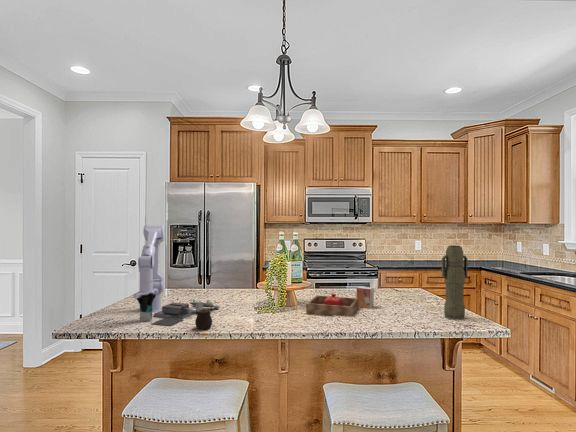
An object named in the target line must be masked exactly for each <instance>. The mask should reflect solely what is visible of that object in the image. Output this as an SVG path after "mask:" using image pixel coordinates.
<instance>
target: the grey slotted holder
mask: <svg viewBox="0 0 576 432" xmlns="http://www.w3.org/2000/svg"><path fill="white" fill-rule="evenodd" d="M161 308H162V310H161V311H162V313H170V314H180V313H183V312H185V311H197V309H196V308H193V307H191V308H190V303H184V302H182V303H180V302H171V303H168V304H165V305H161Z"/></svg>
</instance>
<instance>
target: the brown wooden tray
mask: <svg viewBox="0 0 576 432" xmlns="http://www.w3.org/2000/svg"><path fill="white" fill-rule="evenodd" d="M327 297H331V296H328V295H316V296H314V297H313V298H312V299H310V300H308V302H306V303H305V313H306V314H307V315H319V316H327V315H328V316H329V317H334V316H343V317H353V316H354V314H355V312H357V310H359V308H360V307H359V298H356V297H344V296H342V297H341V296H338V297H339V298H341V299H342V300H343V305H344V306H337V305H324V300H325V299H326V298H327Z"/></svg>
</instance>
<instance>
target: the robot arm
mask: <svg viewBox="0 0 576 432" xmlns="http://www.w3.org/2000/svg"><path fill="white" fill-rule="evenodd" d="M142 234H143V237H144V239H145V242H146V243H145V245H143V246H142V247H143V248H142V249H141V250H142V251H141V254H140V256H139V257H138V261H137V264H138V265H137V266H138V273H139V290H138V291H136V292H135V293H133V294H132V296H133V299H135V300H137V302H138V305H139V309H140V308H141V311H142V312H146V309H147V305H152V313H157V312H160V311H162V293H163V292H164V290H165V279H164V277H163V275H161V274H160V273H159V271H160V269H159V267H160V265H159V264H160V247H161V243H162V242H164V241H165V225H163V224H162V225H159V224H157V225H155V224H153V225H152V224H151V225H149V224H148V225H147V224H146V225H144V226H143V233H142Z"/></svg>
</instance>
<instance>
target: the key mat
mask: <svg viewBox="0 0 576 432" xmlns="http://www.w3.org/2000/svg"><path fill="white" fill-rule="evenodd" d="M179 322H180V323H182V322H184V319H172V318H162V319H160V320H157V321H154V322H152V323H150V325H152V326H153V325H155V326H164V327H173V326H175V325H177V324H179ZM172 325H173V326H172Z"/></svg>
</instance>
